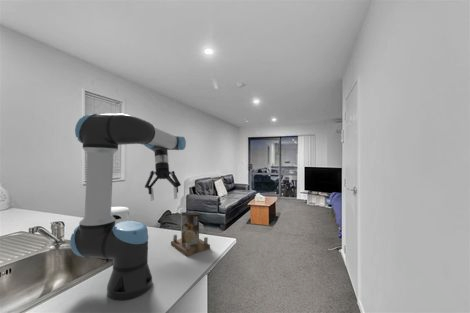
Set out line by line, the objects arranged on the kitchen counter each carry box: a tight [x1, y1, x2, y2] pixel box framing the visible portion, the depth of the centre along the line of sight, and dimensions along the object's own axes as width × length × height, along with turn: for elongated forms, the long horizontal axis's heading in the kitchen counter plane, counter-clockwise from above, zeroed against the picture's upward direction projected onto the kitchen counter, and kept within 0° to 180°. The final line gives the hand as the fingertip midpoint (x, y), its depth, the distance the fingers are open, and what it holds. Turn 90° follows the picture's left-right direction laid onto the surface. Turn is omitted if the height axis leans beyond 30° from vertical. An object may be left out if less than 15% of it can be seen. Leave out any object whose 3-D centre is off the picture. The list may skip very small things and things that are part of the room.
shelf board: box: [170, 234, 211, 257], centre depth 118 cm, size 14×17×6 cm
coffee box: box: [180, 211, 200, 246], centre depth 118 cm, size 9×6×16 cm
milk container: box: [111, 206, 130, 225], centre depth 122 cm, size 17×17×18 cm
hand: (164, 199), depth 124 cm, fingers open, 13 cm apart
